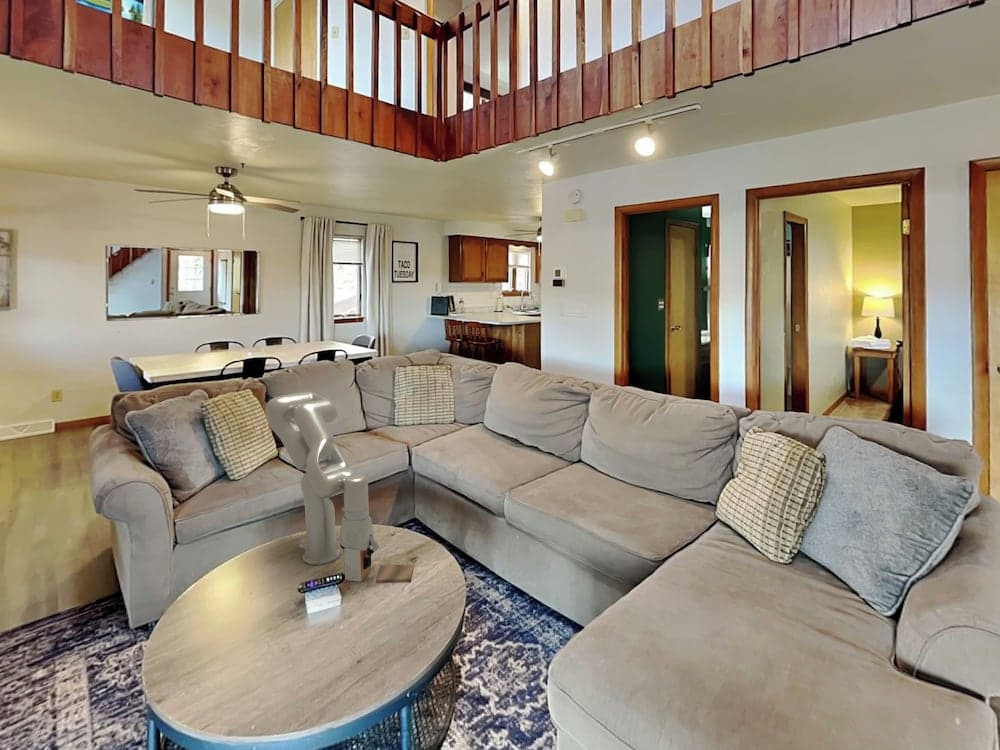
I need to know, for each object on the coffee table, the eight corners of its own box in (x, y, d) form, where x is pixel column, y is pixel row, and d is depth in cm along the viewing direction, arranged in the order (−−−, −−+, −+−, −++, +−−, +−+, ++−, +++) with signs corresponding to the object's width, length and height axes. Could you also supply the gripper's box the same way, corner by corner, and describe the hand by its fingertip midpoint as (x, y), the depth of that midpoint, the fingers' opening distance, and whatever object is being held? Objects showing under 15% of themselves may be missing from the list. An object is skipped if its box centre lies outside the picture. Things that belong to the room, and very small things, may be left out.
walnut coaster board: (375, 582, 168) (375, 579, 168) (380, 567, 177) (380, 565, 177) (410, 582, 169) (410, 579, 168) (413, 567, 177) (413, 564, 177)
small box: (361, 582, 168) (360, 551, 166) (344, 580, 169) (343, 549, 167) (371, 569, 176) (371, 540, 174) (356, 567, 177) (355, 538, 175)
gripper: (326, 513, 168) (328, 565, 171) (373, 522, 162) (374, 576, 165) (341, 504, 175) (343, 554, 178) (386, 512, 169) (387, 564, 172)
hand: (358, 564), depth 172 cm, fingers closed on small box, 6 cm apart
